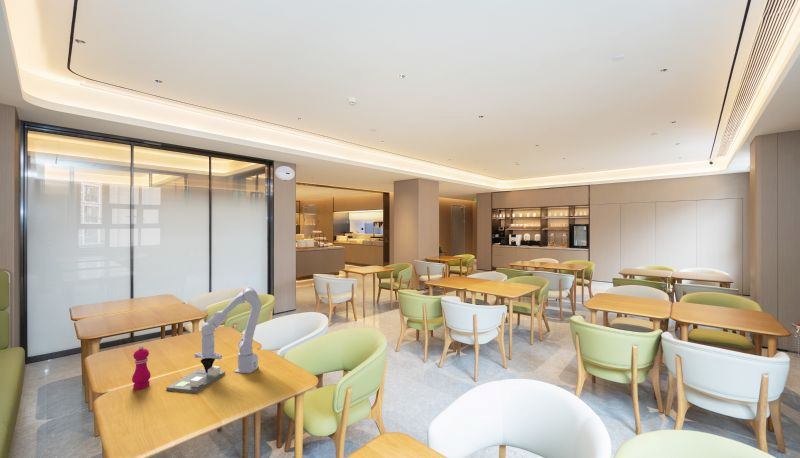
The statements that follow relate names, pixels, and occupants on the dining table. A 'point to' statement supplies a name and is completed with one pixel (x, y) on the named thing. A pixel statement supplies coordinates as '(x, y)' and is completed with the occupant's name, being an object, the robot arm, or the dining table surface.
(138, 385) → the pepper mill
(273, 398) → the dining table surface
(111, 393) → the dining table surface
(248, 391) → the dining table surface
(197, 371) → the switch board
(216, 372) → the right knob
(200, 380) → the left knob
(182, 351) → the dining table surface
